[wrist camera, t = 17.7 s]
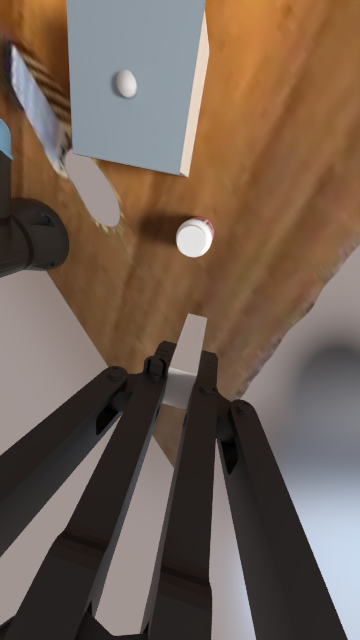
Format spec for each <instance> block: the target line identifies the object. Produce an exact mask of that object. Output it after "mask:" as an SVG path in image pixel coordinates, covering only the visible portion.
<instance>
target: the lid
mask: <svg viewBox="0 0 360 640" xmlns="http://www.w3.org/2000/svg"><path fill="white" fill-rule="evenodd" d="M66 2H67V25H68V49H69V72H70V96H71V119H72V143H73V153H74V154H77V155H81V156H87V157H91V158H96V159H101V160H106V161H111V162H116V163H121V164H125V165H130V166H135V167H140V168H145V169H150V170H155V171H160V172H165V173H169V174H174V175H179V174H180V167H181V160H182V154H183V147H184V141H185V134H186V127H187V121H188V114H189V108H190V101H191V94H192V88H193V81H194V75H195V68H196V62H197V55H198V48H199V42H200V35H201V29H202V22H203V15H204V9H205V0H66Z"/></svg>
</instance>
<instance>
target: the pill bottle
mask: <svg viewBox="0 0 360 640" xmlns="http://www.w3.org/2000/svg"><path fill="white" fill-rule="evenodd" d="M213 236H214V230H213V226H212V224H211V223H210V222H209V221H208V220H207V219H205V218H203V217H194V218H192V219H189V220H187V221H185V222H184V223H183V224H182V225H181V226H180V227H179V229H178V231H177V234H176V243H177V246H178V249H179V250H180V251H181V252H182V253H183V254H184V255H186V256H189V257H198V256H201V255H203V254H204V253H206V252H207V250H208V249H209V247H210V245H211V243H212V240H213Z"/></svg>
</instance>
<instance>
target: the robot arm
mask: <svg viewBox="0 0 360 640" xmlns="http://www.w3.org/2000/svg"><path fill="white" fill-rule="evenodd" d="M11 161H13V157H12V155H11V135H10V131H9V129H8V127H7V125H6V124H5V123H4V121H3V120H2V119H1V118H0V278H1V277H4V276H7V275H10V274H13V273H16V272H18V271H21V270H35V271H47V270H51V269H54V268H56V267H58V266H60V265H61V264H62V263H63V262H64V261H65V260H66V258H67V255H68V251H69V239H68V235H67V231H66V229H65V227H64V224H63V223H62V221H61V219H60V218H59V217H58V215H57V214H56V213H55V212H54V211H53V210H52V209H51V208H50V207H49V206H47V205H46V204H44V203H42V202H40V201H38V200H34V199H15V200H12V201H11ZM206 322H207V318H205V317H201V316H197V315H193V314H189V313H188V316H187V318H186V321H185V324H184V327H183V330H182V332H181V335H180V338H179V341H178V344H175V343H171V342H167V341H163V342H162V343H160V344H159V346H158V348H157V350H156V352H155V354H154V356H150V357H148V358H146V360H145V362H144V369H143V372H142V373H138V374H127V371H126V370H125V369H124V368H122V367H119V366H112V367H108V368H107V369H105V370H103V371H102V372H101V373H100V374H99V375H97V377H95V378H94V379H93V380H91V381H90V382H89V383H88V384H87V385H85V386H84V387H83V388H82V389H80V390H79V391H78V392H77V393H76V394H74V395H73V396H72V397H71V398H70V399H68V400H67V401H66V402H65V403H63V404H62V405H61V406H60V407H59V408H58V409H56V410H55V411H54V412H53V413H51V414H50V415H49V416H48V417H47V418H45V419H44V420H43V421H42V422H41V423H39V424H38V425H37V426H36V427H35V428H33V429H32V430H31V431H30V432H28V433H27V434H26V435H25V436H24V437H22V438H21V439H20V440H19V441H18V442H16V443H15V444H14V445H13V446H11V447H10V448H9V449H8V450H7V451H5V452H4V453H3V454H2V455H0V557H1V556H2V555H3V553H4V552H5V551H6V550H7V549H8V548H9V546H10V545H11V544H12V543H13V542H14V541H15V539H16V538H17V537H18V536H19V535H20V534H21V532H22V531H23V530H24V529H25V528H26V526H27V525H28V524H29V523H30V522H31V521H32V519H33V518H34V517H35V516H36V515H37V513H38V512H39V511H40V510H41V509H42V508H43V506H44V505H45V504H46V503H47V501H49V499H50V498H51V497H52V496H53V495H54V493H55V492H56V491H57V490H58V489H59V488H60V486H61V485H62V484H63V483H64V482H65V481H66V479H67V478H68V477H69V476H70V474H71V473H72V472H73V471H74V470H75V469H76V468H77V466H78V465H79V464H80V463H81V461H83V459H84V458H85V457H86V456H87V454H88V453H89V452H90V451H91V450H92V449H93V448H94V446H95V445H96V444H97V443H98V441H100V439H101V438H102V437H103V436H104V435H105V433H106V432H107V431H108V430H109V429H110V428H111V426H112V425H113V424H114V423H115V422H116V421H117V419H118V418H119V417H120V416H121V415H122V416H121V418H120V420H119V422H118V424H117V426H116V428H115V430H114V432H113V434H112V436H111V438H110V440H109V442H108V444H107V446H106V448H105V450H104V452H103V454H102V456H101V458H100V460H99V462H98V464H97V466H96V468H95V470H94V473H93V474H92V476H91V478H90V480H89V482H88V484H87V486H86V489H85V490H84V492H83V494H82V496H81V498H80V501H79V503H78V504H77V506H76V508H75V511H74V513H73V515H72V517H71V519H70V521H69V523H68V525H67V526H66V528H65V529H64V531H63V532H62V533H61V534H60V535H59V536H58V537H57V538H56V539H55V541H54V542H53V544H52V546H51V547H50V549H49V551H48V553H47V555H46V557H45V559H44V561H43V562H42V564H41V566H40V568H39V570H38V572H37V574H36V576H35V578H34V580H33V582H32V584H31V586H30V588H29V590H28V592H27V594H26V596H25V598H24V600H23V602H22V604H21V606H20V607H19V609H18V611H17V613H16V615H15V616H13V617H11V618H10V619H9V620H7V621H6V622H4V623H3V624H2V625H0V640H211V626H212V590H211V586H210V582H209V557H210V539H211V520H212V501H213V481H214V462H215V443H216V438H217V443H218V449H219V453H220V458H221V463H222V468H223V474H224V479H225V484H226V489H227V494H228V499H229V504H230V509H231V514H232V519H233V524H234V529H235V534H236V539H237V544H238V549H239V554H240V560H241V565H242V570H243V575H244V580H245V585H246V590H247V595H248V600H249V605H250V610H251V615H252V620H253V625H254V630H255V635H256V640H348V639H347V637H346V634H345V632H344V630H343V627H342V624H341V622H340V619H339V617H338V614H337V612H336V609H335V607H334V604H333V602H332V599H331V597H330V594H329V592H328V589H327V587H326V584H325V582H324V579H323V577H322V575H321V572H320V569H319V567H318V564H317V562H316V560H315V557H314V555H313V552H312V550H311V547H310V545H309V542H308V540H307V537H306V535H305V532H304V530H303V527H302V525H301V522H300V520H299V517H298V515H297V512H296V510H295V507H294V505H293V503H292V500H291V498H290V495H289V492H288V490H287V487H286V485H285V482H284V480H283V477H282V475H281V473H280V470H279V467H278V465H277V463H276V460H275V457H274V455H273V453H272V450H271V448H270V445H269V443H268V440H267V438H266V435H265V433H264V430H263V428H262V425H261V423H260V420H259V418H258V415H257V413H256V411H255V409H254V408H253V406H252V405H251V404H250V403H248V402H246V401H244V400H240V399H239V400H234V401H232V402H231V401H229V400H227V399H225V398H224V397H223V396H222V395H220V393H219V392H218V390H217V386H216V384H217V367H218V358H217V356H216V354H215V353H211V352H207V351H204V350H202V344H203V339H204V333H205V327H206ZM161 403H164V404H168V405H171V406H175V407H178V408H182V409H185V410H187V412H186V415H185V418H184V422H183V425H182V427H183V428H182V433H181V438H180V443H179V448H178V453H177V458H176V463H175V468H174V473H173V478H172V483H171V488H170V493H169V498H168V503H167V508H166V513H165V517H164V523H163V527H162V532H161V537H160V542H159V547H158V552H157V557H156V562H155V567H154V572H153V577H152V582H151V586H150V591H149V595H148V599H147V603H146V608H145V612H144V617H143V621H142V626H141V631H140V634H134V635H122V636H113V635H111V634H110V633H109V632H108V631H107V630H106V629H105V628H104V627H103V626H102V625H101V624H100V623H99V622H98V621H97V620H96V619H95V618H94V617H95V614H96V611H97V608H98V605H99V601H100V598H101V595H102V591H103V587H104V584H105V580H106V577H107V573H108V570H109V567H110V564H111V560H112V557H113V554H114V551H115V548H116V545H117V542H118V539H119V536H120V532H121V529H122V526H123V523H124V520H125V517H126V514H127V511H128V508H129V504H130V501H131V498H132V495H133V492H134V489H135V486H136V483H137V480H138V476H139V474H140V470H141V467H142V464H143V461H144V458H145V455H146V452H147V449H148V446H149V442H150V440H151V436H152V433H153V430H154V427H155V424H156V421H157V418H158V415H159V412H160V407H161ZM122 413H123V414H122Z"/></svg>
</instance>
